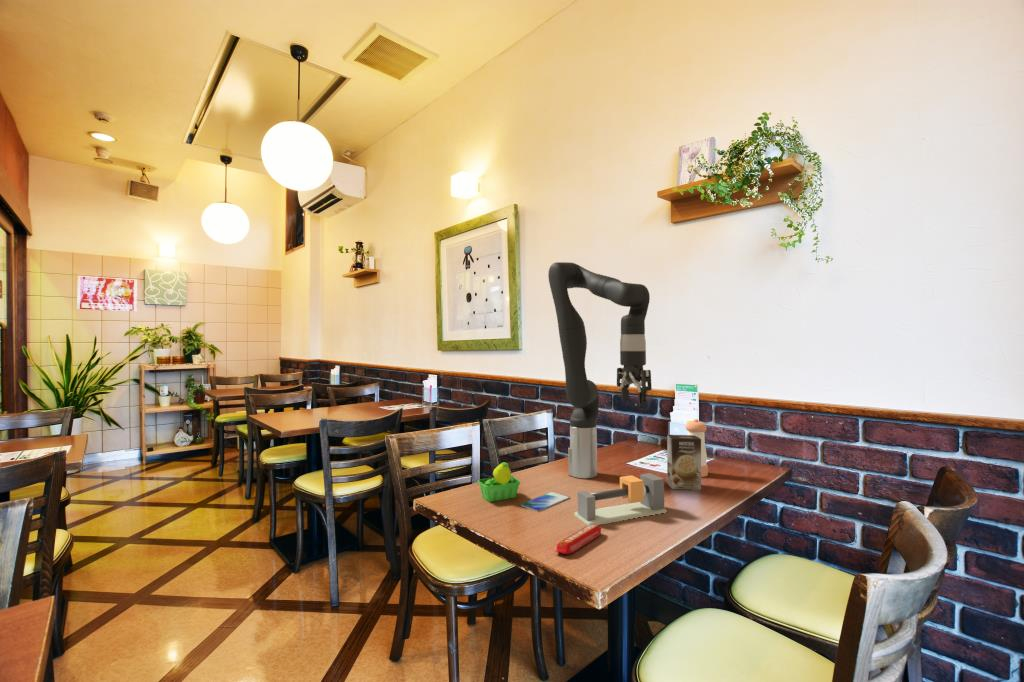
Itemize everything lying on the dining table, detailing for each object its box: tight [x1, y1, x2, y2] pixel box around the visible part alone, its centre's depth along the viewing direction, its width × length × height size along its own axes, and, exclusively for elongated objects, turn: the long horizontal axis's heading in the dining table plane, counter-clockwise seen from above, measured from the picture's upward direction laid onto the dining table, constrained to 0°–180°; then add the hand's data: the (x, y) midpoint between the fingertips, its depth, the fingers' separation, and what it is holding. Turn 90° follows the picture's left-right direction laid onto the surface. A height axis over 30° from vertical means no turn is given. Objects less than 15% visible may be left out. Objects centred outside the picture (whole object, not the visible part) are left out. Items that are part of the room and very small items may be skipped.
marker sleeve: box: [619, 475, 644, 503], centre depth 125 cm, size 4×5×6 cm
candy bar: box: [554, 525, 603, 555], centre depth 106 cm, size 16×4×3 cm, turn 139°
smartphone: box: [520, 491, 571, 513], centre depth 134 cm, size 7×1×15 cm
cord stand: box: [573, 472, 668, 526], centre depth 124 cm, size 24×8×9 cm, turn 110°
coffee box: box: [666, 434, 702, 491], centre depth 146 cm, size 9×6×16 cm
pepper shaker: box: [685, 418, 709, 478], centre depth 159 cm, size 7×7×19 cm
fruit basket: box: [477, 462, 521, 503], centre depth 138 cm, size 11×9×11 cm
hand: (633, 403), depth 138 cm, fingers open, 8 cm apart
